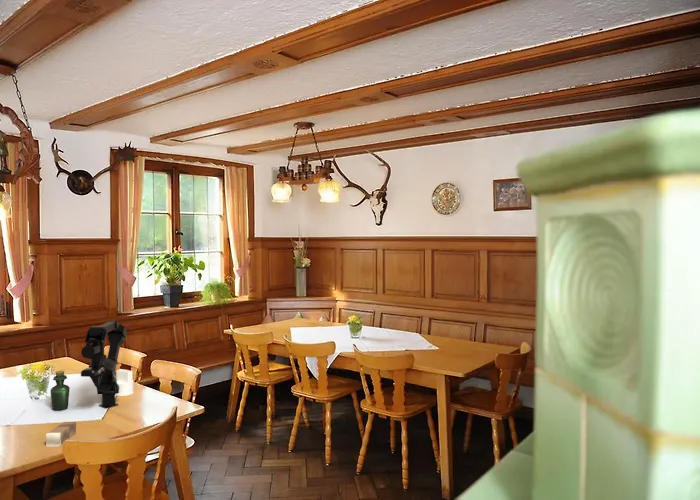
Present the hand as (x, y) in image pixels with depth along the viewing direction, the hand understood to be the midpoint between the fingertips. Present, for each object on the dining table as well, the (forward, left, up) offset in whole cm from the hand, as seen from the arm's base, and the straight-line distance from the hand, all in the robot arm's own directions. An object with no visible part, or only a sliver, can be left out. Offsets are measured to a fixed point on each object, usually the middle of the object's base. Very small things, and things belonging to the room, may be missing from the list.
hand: (97, 387), depth 237 cm
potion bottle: (-22, -6, -13) cm, 26 cm away
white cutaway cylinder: (-20, +26, -13) cm, 36 cm away
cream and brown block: (+12, -19, -11) cm, 25 cm away
